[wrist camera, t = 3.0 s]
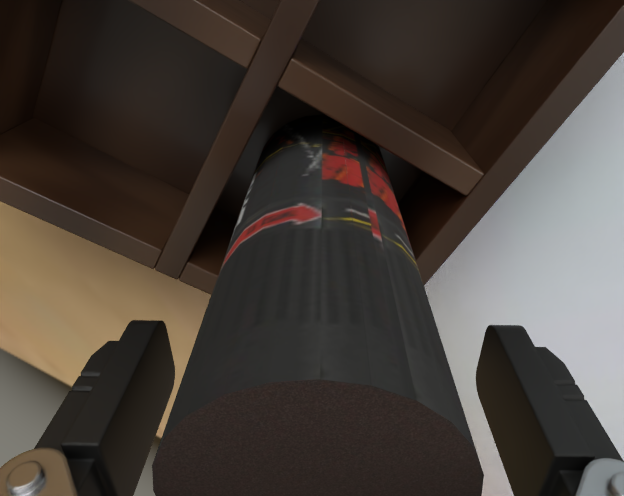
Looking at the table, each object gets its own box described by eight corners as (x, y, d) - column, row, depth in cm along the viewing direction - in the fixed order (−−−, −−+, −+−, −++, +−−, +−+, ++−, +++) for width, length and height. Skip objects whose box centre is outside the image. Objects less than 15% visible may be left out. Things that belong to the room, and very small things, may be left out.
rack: (10, 122, 21) (-80, 166, 16) (142, -454, 13) (35, -706, 8) (353, 289, 25) (359, 361, 20) (618, -61, 17) (731, -73, 12)
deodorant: (379, 237, 23) (452, 581, 10) (259, 233, 23) (175, 572, 10) (392, 115, 20) (521, 384, 7) (253, 112, 20) (121, 374, 7)
